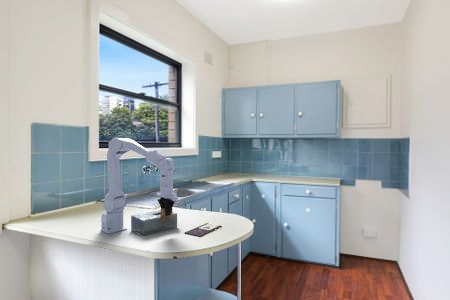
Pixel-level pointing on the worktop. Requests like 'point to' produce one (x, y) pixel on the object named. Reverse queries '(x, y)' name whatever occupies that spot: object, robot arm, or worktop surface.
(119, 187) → the robot arm
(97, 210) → the worktop surface
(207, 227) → the chocolate bar
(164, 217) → the tan rectangular slab
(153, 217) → the cash box
